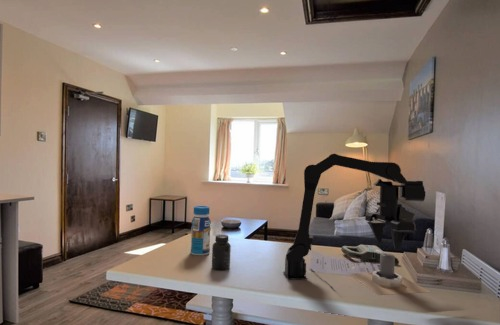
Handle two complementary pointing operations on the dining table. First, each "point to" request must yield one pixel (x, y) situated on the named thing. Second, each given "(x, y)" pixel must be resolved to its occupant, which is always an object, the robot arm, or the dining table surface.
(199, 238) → the beverage bottle
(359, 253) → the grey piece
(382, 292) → the tan square board
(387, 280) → the aluminium collar
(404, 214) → the robot arm
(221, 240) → the supplement bottle
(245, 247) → the dining table surface
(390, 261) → the grey rounded plug
